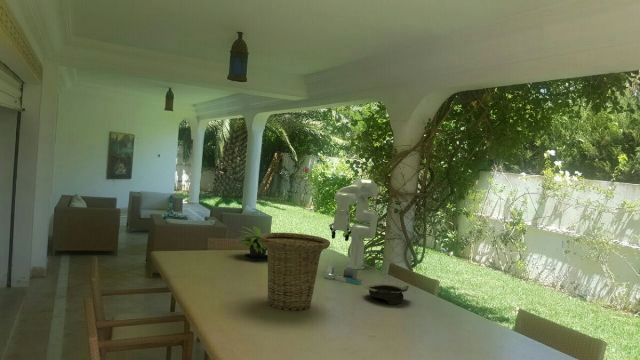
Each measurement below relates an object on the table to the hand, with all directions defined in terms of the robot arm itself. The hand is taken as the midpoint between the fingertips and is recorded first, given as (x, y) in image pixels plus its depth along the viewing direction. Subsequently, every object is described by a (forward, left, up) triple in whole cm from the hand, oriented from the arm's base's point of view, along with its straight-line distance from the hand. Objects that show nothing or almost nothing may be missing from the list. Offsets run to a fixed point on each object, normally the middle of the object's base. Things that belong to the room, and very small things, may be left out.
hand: (339, 239), depth 307 cm
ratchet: (+3, +6, -25) cm, 25 cm away
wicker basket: (+71, +12, -25) cm, 76 cm away
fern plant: (-4, -67, -25) cm, 71 cm away
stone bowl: (+23, +43, -25) cm, 55 cm away
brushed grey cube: (-5, +7, -25) cm, 26 cm away
